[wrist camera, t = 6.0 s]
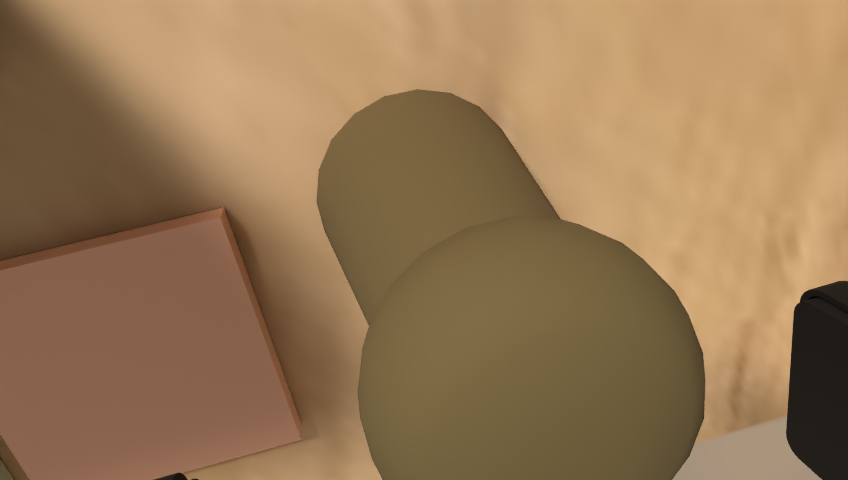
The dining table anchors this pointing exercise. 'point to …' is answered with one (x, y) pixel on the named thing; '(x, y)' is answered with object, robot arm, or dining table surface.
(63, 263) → the terracotta pad
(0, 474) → the green pad
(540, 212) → the brown pepper mill
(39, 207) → the dining table surface
